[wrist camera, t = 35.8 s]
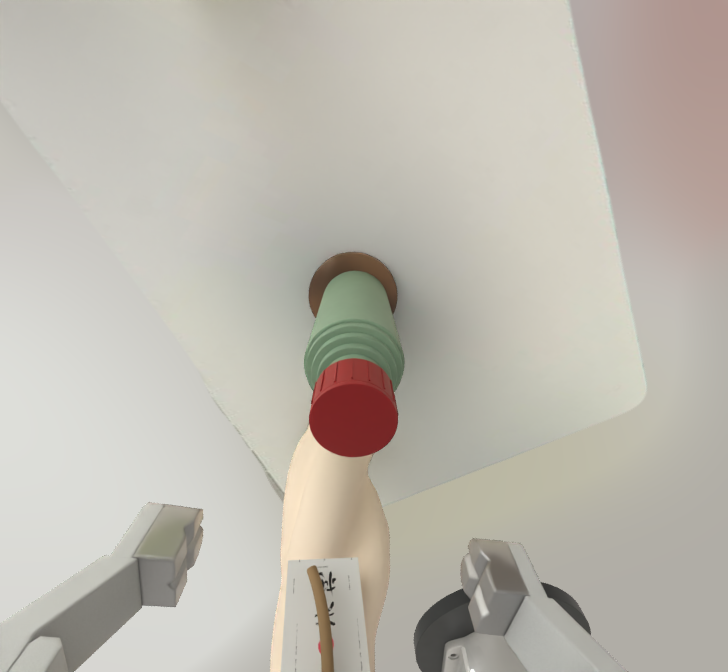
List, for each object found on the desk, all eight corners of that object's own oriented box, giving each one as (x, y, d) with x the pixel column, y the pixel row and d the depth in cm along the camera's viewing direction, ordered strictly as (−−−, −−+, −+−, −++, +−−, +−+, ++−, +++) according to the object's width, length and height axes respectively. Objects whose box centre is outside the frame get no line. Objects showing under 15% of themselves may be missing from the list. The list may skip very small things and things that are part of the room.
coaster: (387, 342, 36) (387, 344, 36) (304, 329, 35) (303, 331, 35) (405, 260, 33) (406, 261, 32) (315, 244, 32) (314, 245, 32)
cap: (319, 351, 18) (314, 376, 16) (400, 363, 18) (407, 390, 16) (310, 419, 20) (303, 452, 17) (384, 430, 20) (388, 462, 18)
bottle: (384, 335, 35) (408, 468, 19) (321, 330, 35) (288, 462, 18) (391, 273, 33) (427, 362, 16) (323, 267, 33) (289, 352, 16)
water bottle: (286, 398, 39) (143, 827, 13) (367, 382, 38) (391, 797, 12) (311, 469, 42) (241, 910, 17) (385, 456, 42) (432, 890, 16)
